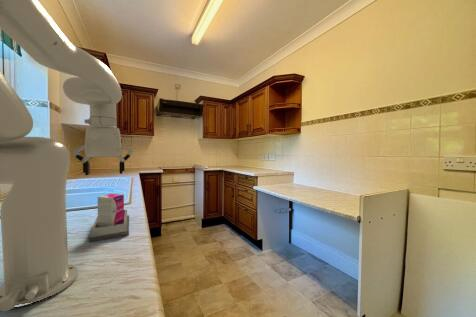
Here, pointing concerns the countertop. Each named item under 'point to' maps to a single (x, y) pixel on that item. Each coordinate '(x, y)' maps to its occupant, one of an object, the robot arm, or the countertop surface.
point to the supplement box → (110, 210)
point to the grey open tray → (109, 230)
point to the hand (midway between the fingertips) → (104, 174)
